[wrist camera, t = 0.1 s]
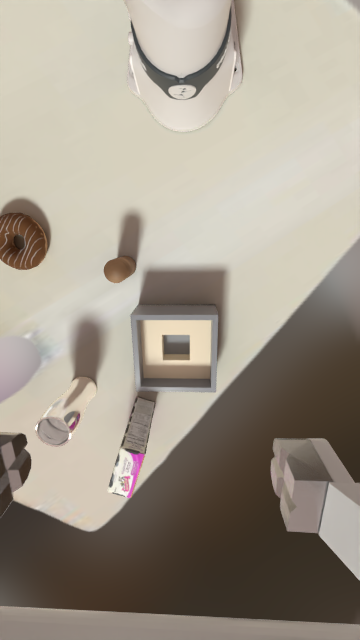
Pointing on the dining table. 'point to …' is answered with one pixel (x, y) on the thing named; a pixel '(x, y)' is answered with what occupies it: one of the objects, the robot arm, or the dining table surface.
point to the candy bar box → (132, 449)
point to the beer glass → (66, 413)
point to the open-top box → (175, 347)
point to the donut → (35, 248)
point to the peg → (119, 269)
